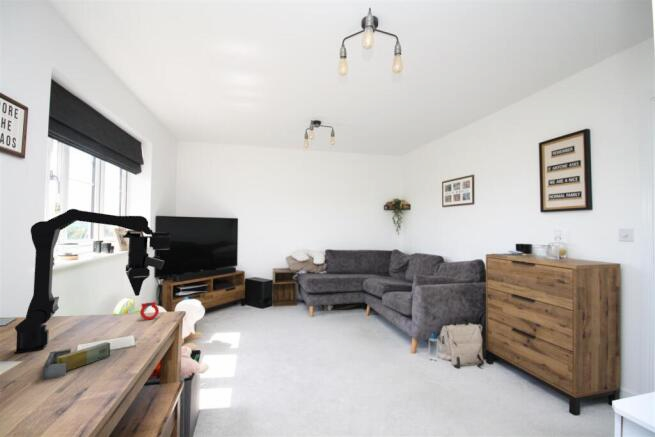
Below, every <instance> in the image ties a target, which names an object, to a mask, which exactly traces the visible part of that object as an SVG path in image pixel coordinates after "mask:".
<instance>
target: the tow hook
mask: <svg viewBox="0 0 655 437" xmlns="http://www.w3.org/2000/svg"><path fill="white" fill-rule="evenodd" d="M156 304H157V302H156V301H152V302H151V301H149V302H143V303H141V306H140V307H141V309H140V312H139V314H140V316H141V318H142V319H144V320H147V321H149V320H154V319H155V318H157V316H158V314H159V312H160V311H159V310H160V309H159V307H158V305H156ZM149 307H151V308H152V309H154V311H155V312H154V314H153V315H151V316H147V315H146V314H145V312H146V311H147V309H148V308H149Z"/></svg>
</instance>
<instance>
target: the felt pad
mask: <svg viewBox="0 0 655 437" xmlns="http://www.w3.org/2000/svg"><path fill="white" fill-rule="evenodd" d="M105 342H108V343H110V352H112V351H118V350H123V349H127V348H132V347H136V341H135V336H134V335H128V336H123V337H116V338H111V339H105V340H100V341H93V342H88V343H81V344H78V345H77V348H76V351H78V350H82V349H85V348H88V347H92V346H95V345H98V344H101V343H105Z"/></svg>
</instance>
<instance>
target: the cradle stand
mask: <svg viewBox="0 0 655 437" xmlns="http://www.w3.org/2000/svg"><path fill="white" fill-rule="evenodd" d="M69 353H72V348H66V349H61V350H60V349H59V350H55V351H50V352H49V354H48V356H47V359H46V361H45V362H44V365H43V367H42V379H41V380H43V381H44V380H47V379H53V378H58V377H63V376H66V375H67V371H66V364H67V362H63V363H58V364H57V357H59V356H62V355H65V354H69Z"/></svg>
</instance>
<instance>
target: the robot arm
mask: <svg viewBox="0 0 655 437" xmlns="http://www.w3.org/2000/svg"><path fill="white" fill-rule="evenodd" d="M75 222H84V223H92V224H99V225H100V224H101V225H107V226H116V227H120V228H122V229H126V230H128V231H127V232H126V234H123V236H122V238H124V239H126V238H127V239H128V252H127V256H128V258H127V259H128V260H127V264H125V274H126V276H127V278H128V280H129V283H130V286H131V288H132V291H133V293H134V296H135V297H138V296H140V293H141V290H142V286H143V284H144V281H145V280H146V279H149V277H150V274H151V273H150V272H151V271H150V269H149V267H152V268H154V269H155V268H156V269H158V270H162V268H163V266H164V264H165V260H162V259H160V256H157V255H154V256H153V257H152V256H149V253H148V246H149V248H152V250H153V251H157V250H158V251H159V250H161V251H162V250H163V251H165V250H167V251H168V250H170V249H171V240H170V239H171V238H170V234H171V233H170V231H162V232H160V231H158V232H157V231H155V232H154V231H153V229H151V228H150V227H149V221H148V219H147V218H146V216H145V217H144V216H142V215H115V214H108V213H107V214H106V213H100V212H94V211H86V210H80V209H76V208H71V209H68V210H66V211H65V212H63V213H61V214H58V215H57V216H55V217H52V218H50V219H48V220H41V221H38V222H36V223H34V224H33V225H31V228H30V235H31V241H32V243H33V246H34V248H35V260H34V276H33V277H34V279H33V293H32V294H33V295H32V298H31V299H30V302H29V304H28V307H27V312H26V315H25V318H24V319H23V320H22V321H21V322H19V323H18V324H17V325H16V326H15V327H14V330H15V331H16V342H15V344H16V345H15V346H16V347H15V350H14V352H13V353H14V354H20V353H27V352H32V351H38V350H43V349H45V348H46V346H47V345H48V344H49V341H50V340H49V339H50V329H49V328H48V325H47V324H46V323H47V322H48V321H50V319H51V318H52V317H53V316H54V315H55V314H56V312H57V311H58V310H59V308H60V307H59V305H58V303H59V300H60V299H59V298H60V297H59V296H55V297H54V295H53V292H52V288H53V270H54V269H53V267H54V252H55V246H56V244H57V242H58V239H59V236H60V232H61V231H63V230H64V229H65V228H67V227H70V226H71V225H72V224H74V223H75ZM129 230H130V231H129ZM131 231H133V232H134V233H133V232H131ZM136 232H137V233H136ZM140 232H142V233H144V234H145V235H141V233H140ZM148 238H149V243H148ZM148 244H149V245H148Z"/></svg>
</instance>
